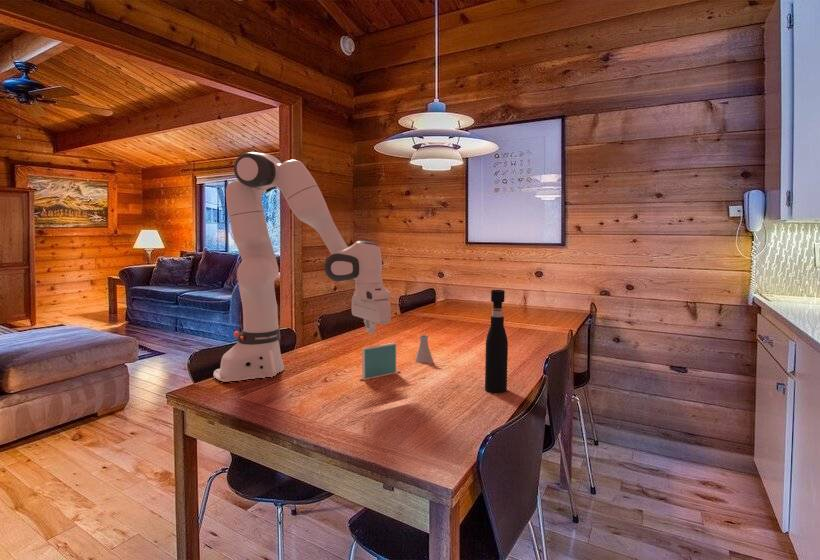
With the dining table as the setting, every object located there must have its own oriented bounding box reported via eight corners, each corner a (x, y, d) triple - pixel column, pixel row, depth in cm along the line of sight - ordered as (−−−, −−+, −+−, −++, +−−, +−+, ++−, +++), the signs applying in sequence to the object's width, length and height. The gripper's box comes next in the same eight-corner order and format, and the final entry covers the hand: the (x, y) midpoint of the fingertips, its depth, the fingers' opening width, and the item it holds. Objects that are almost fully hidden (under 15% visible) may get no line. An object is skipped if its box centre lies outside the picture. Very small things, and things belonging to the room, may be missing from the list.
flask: (432, 367, 163) (432, 338, 162) (412, 365, 165) (411, 338, 164) (435, 361, 171) (435, 334, 169) (415, 360, 172) (415, 333, 171)
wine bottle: (502, 395, 136) (504, 292, 133) (481, 391, 140) (483, 291, 136) (509, 388, 142) (512, 290, 138) (489, 384, 145) (491, 288, 142)
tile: (364, 380, 146) (363, 348, 145) (362, 379, 147) (361, 347, 146) (396, 373, 153) (396, 343, 152) (394, 372, 154) (394, 342, 153)
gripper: (346, 288, 159) (347, 328, 161) (376, 295, 142) (377, 340, 144) (362, 286, 162) (364, 326, 164) (394, 293, 146) (395, 337, 147)
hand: (370, 332), depth 154 cm, fingers closed
